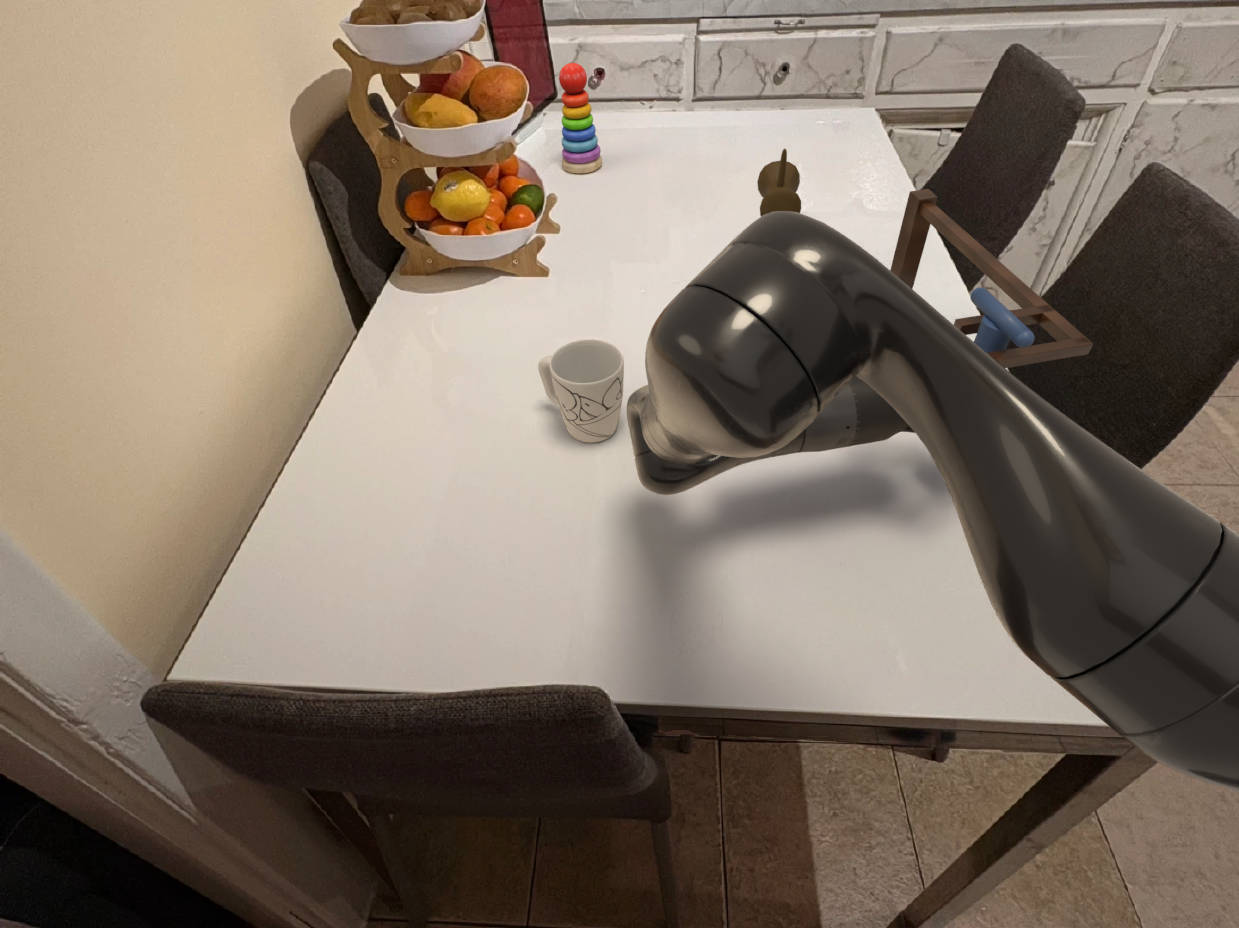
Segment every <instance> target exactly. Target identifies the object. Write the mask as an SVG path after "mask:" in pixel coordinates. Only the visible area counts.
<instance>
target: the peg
mask: <svg viewBox="0 0 1239 928" xmlns="http://www.w3.org/2000/svg"><path fill="white" fill-rule="evenodd" d="M970 300H971V302H972V304H973V305H975V306H976V308H978V310H979V311H980V312H981V313H982V314H983V315H985V316H984V317H983V319H982V321H981V324H980V327H979V329H978V332H977V333H976V334H975V337H974V338H975V339H974V340H973V342H974V343H976V344H977V345H978V346H979V347H980V348H982V349H983V350H984V351H985V352H986V353H990V352H996V351H1002V350H1007V347H1008V345H1009V343H1010V341H1011V342H1012V343H1013V344H1014V345H1015V346H1016V347H1017V348H1026V347H1029V346H1032V345H1033V344H1034V342H1035V335H1034V333H1033V331H1032V330H1031V329H1030V328H1029V327H1027V325H1024V324H1023V323H1022V322H1021V321H1020V320H1019V319H1018V318H1017V317H1016V316H1015V315H1013V314H1012V313H1011V312H1010V310H1009V308H1007V307H1006V305H1004V304H1003V303H1002V302H1001V301H1000V300H999V299H998V298H996V297H995V295H994V294H993V293H991V292H990V291H989V290H988V289H987V288H985V287H982V286H981V287H976V288H974V289H973V290H972V291H971V293H970Z"/></svg>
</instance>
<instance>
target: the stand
mask: <svg viewBox="0 0 1239 928" xmlns="http://www.w3.org/2000/svg"><path fill="white" fill-rule="evenodd" d="M938 199H939V197H938V196H937V195H936V194H935V193H934V192H933V191H931V190H930V189H929V188H925V189H917V190H911V191H909V194H908V197H907V201H906V205H905V210H904V213H903V218H902V221H901V226H900V230H899V233H898V238H897V242H896V246H895V249H894V253H893V258H892V263H891V266H890V269H889V270H890V271H891V272H893V273H894V274H895V275H896V276H897V277H899V278H900V279H901V280H902V281H903V282H905V283H906V284H907V285H908V286H909V287H910V288H911V289H913V288H914V285H915V281H916V278H917V275H918V270H919V268H920V264H921V259H922V256H923V253H924V250H925V249H924V248H925V245H926V241H927V238H928V235H929V231H930V227H933V228H934V229H936V231H938V232H939V233H940V234H941V235H942V236H943V237H944V238H945V239H946V240H947V241H948V242H950V243H951V245H953V246H954V247H955V248H956V249H957V250H958V251H959V252H960V253H961V254H962V255H963V256H965V257H966V258H967V259H968V260H969V261H970V262H971V263H972V264H973V265H974V266H976V267H977V269H979V270H980V271H981V272H982V273H983V274H984V275H985V276H986V277H987V278H988V279H990V280H991V282H993V284H994V285H996V286H997V287H998V288H999V289H1001V291H1003V293H1005V294H1006V296H1008V297H1009V298H1010V299H1011V300H1012V301H1013V302H1014V303H1016V305H1018V306H1019V307H1020V308H1016V309H1010V310H1009V311H1010V312H1011V313H1012V314H1013V315H1015V316H1016V317H1017V318H1018V319H1019V320H1020V321H1021V322H1022V323H1023V324H1024V325H1025V326H1030V325H1031V326H1032V325H1037V324H1038V325H1039V326H1040V327H1042V328H1043V329H1044V330H1045V331H1046V332H1047V333H1048V334H1049V335H1050V336H1051V337H1052V338H1053V339H1055V340H1056V341H1051V342H1044V343H1040V344H1034V345H1033V344H1032V345H1030V346H1029V347H1026V348H1020V347H1015V348H1009V349H1006V350H1002V351H996V352H990V353H988V354H989V355H990V356H991V357H992V358H994V359H995V360H996V361H997V362H998V363H1000V364H1001V365H1002V366H1003V367H1004V368H1006V369H1009V368H1015V367H1022V366H1027V365H1032V364H1038V363H1045V362H1050V361H1051V362H1052V361H1057V360H1062V359H1068V358H1074V357H1081V356H1086V355H1087V356H1088V355H1089V354H1090V352H1091V349H1092V347H1093V346H1094V343H1093V342H1092V341H1091V340H1090V339H1088V337H1086V336H1085V335H1084V334H1083V333H1082V332H1081V331H1080V330H1079V329H1077V328H1076V327H1075V326H1074V325H1073V324H1071V323H1070V321H1068V320H1067V319H1066V318H1065V317H1064V316H1063V315H1061V314H1060V313H1059V312H1057V310H1055V308H1053V307H1052V306H1051V305H1050V304H1049V303H1047V302H1046V301H1045V300H1044V299H1043V298H1042V297H1041V296H1040V295H1039V294H1038V293H1036V292H1035V291H1034V290H1033V289H1032V288H1030V287H1029V286H1028V285H1027V283H1025V282H1024V281H1023V280H1022V279H1021V278H1019V277H1018V276H1017V275H1016V274H1015V273H1013V271H1011V270H1010V269H1009V268H1008V267H1007V266H1006V265H1004V264H1003V263H1002V262H1001V261H1000V260H999V259H998V258H997V257H995V256H994V255H993V254H992V253H991V252H990V251H989V250H987V249H986V248H985V247H984V246H983V245H982V244H981V243H979V241H977V240H976V239H975V238H973V237H972V236H971V235H970V234H969V233H968V232H967V231H966V230H965V229H963V227H961V226H960V225H959V224H958V223H957V222H956V221H954V220H953V219H952V218H951V217H950V216H949V215H948V214H947V213H945V211H943V210H941V208H940V207H938V206H937V202H938ZM913 290H914V289H913ZM984 316H985V314H980V315H979V314H978V315H972V316H967V317H960V318H955V319H954V323H953V325H954V326H956V327H957V328H958V329H959V330H960V331H961V332H963V333H964V334H965V335H966V336H968V335H976V334H977V332H978V329H979V327H980V324H981V321H982V319H983V317H984Z"/></svg>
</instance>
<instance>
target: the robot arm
mask: <svg viewBox="0 0 1239 928" xmlns="http://www.w3.org/2000/svg"><path fill="white" fill-rule="evenodd" d="M647 337H648V338H647V341H646V346H645V354H644V355H645V356H644V366H645V374H646V380H647V384H645V385H643V386H640V387H639V388H637V389H636V390H635V391H633V392H632V393H631V394H630V396H629V397H628V398H627V402H626V419H627V424H628V425H627V426H628V429H629V435H630V440H631V446H632V451H633V457H634V462H635V463H634V464H635V467H636V468H635V469H636V474H637V478H638V480H639V483H640V484H641V486H643V487H644V488H645V490H648V491H649V492H651V493H654V494H657V495H662V496H672V495H673V496H674V495H677V494H682V493H684V492H687V491H688V490H691V489H694V488H695V487H697V486H699V485H701V484H703V483H705V482H708V481H709V480H711V479H712V478H715V477H717V476H718V475H720V474H724V473H725V472H727V471H730V470H732V469H734V468H737V467H739V466H742V465H746V464H748V463H752V462H753V463H754V462H755V461H761V460H764V459H765V460H766V459H770V458H774V457H782V456H788V455H793V454H799V453H800V454H801V453H818V452H819V453H820V452H826V451H832V450H837V449H843V448H849V447H853V446H854V447H855V446H860V445H866V444H871V443H876V442H877V443H878V442H882V441H886V440H889V439H890V438H892V437H893V436H895V435H897V434H898V433H901V432H903V433H904V432H905V433H912V434H916V435H917V437H918V438H919V439H920V441H921V442H922V444H923V445H924V446H925V448H926V449H927V451H928V453H929V455H930V456H931V458H932V460H933V461H934V463H935V465H936V467H937V469H938V471H939V473H940V475H941V477H942V479H943V482H944V483H945V486H946V489H947V491H948V494H949V497H950V498H951V500H952V503H953V505H954V508H955V511H956V514H957V517H958V519H959V522H960V525H961V528H962V531H963V534H964V537H965V539H966V542H967V545H968V548H969V551H970V554H971V556H972V560H973V562H974V565H975V567H976V570H977V573H978V575H979V578H980V580H981V583H982V586H983V587H984V591H985V592H986V595H987V598H988V600H989V602H990V604H991V606H992V608H993V610H994V611H995V615H996V616H997V618H998V621H999V622H1000V623H1001V625H1002V627H1003V629H1004V631H1005V632H1006V634H1007V635H1008V637H1009V638H1010V640H1011V641H1012V642H1013V644H1014V645H1015V646H1016V647H1017V648H1018V649H1019V650H1020V651H1021V652H1022V654H1023V655H1024V656H1026V657H1027V658H1028V659H1029V660H1030V661H1031V662H1032V663H1033V664H1034V665H1036V666H1037V667H1038V668H1039V669H1040V670H1041V671H1042V672H1044V674H1046V675H1047V676H1049V677H1050V678H1051V680H1053V681H1054V682H1055V683H1056V684H1058V685H1059V686H1060V687H1061V688H1062V689H1064V690H1065V691H1066V692H1067V693H1068V694H1070V695H1071V696H1072V697H1073V698H1074V699H1076V700H1077V701H1078V702H1079V703H1081V704H1082V705H1083V706H1084V707H1085V708H1087V709H1088V710H1089V711H1090V712H1092V714H1094V715H1095V716H1096V717H1097V718H1099V719H1100V720H1101V721H1102V722H1103V723H1104V724H1106V725H1107V726H1108V727H1110V728H1111V729H1112V730H1113V731H1114V732H1115V733H1117V734H1118V735H1119V736H1121V738H1123V739H1124V740H1126V741H1127V742H1128V743H1130V744H1131V745H1132V746H1134V747H1135V748H1136V749H1137V750H1139V751H1140V752H1142V754H1144V755H1146V756H1148V757H1149V758H1151V760H1154V761H1155V762H1157V763H1159V764H1161V765H1162V766H1165V767H1166V768H1168V769H1170V770H1172V771H1174V772H1176V773H1179V774H1181V775H1184V776H1187V777H1189V778H1192V779H1195V780H1197V781H1199V782H1203V783H1205V784H1208V785H1212V786H1215V787H1219V788H1223V789H1225V790H1229V791H1232V792H1236V793H1239V533H1237V532H1236V531H1234V530H1233V529H1231V528H1230V527H1229V526H1228V525H1226V524H1224V523H1223V522H1222V521H1220V520H1218V518H1216V517H1214V516H1213V515H1211V514H1210V513H1208V512H1207V511H1206V510H1204V509H1202V508H1201V507H1199V506H1198V505H1196V504H1195V503H1193V502H1191V501H1190V500H1188V499H1187V498H1185V497H1184V496H1182V495H1180V494H1179V493H1178V492H1177V491H1175V490H1173V489H1172V488H1170V487H1169V486H1167V485H1165V484H1164V483H1163V482H1161V481H1159V480H1158V479H1157V478H1155V477H1154V476H1153V475H1151V474H1149V473H1148V472H1146V471H1145V470H1144V469H1142V468H1140V467H1139V466H1138V465H1136V464H1135V463H1133V462H1132V461H1130V460H1129V459H1127V457H1125V456H1123V455H1122V454H1120V453H1119V452H1118V451H1116V450H1115V449H1113V448H1112V447H1111V446H1109V445H1108V444H1107V443H1105V442H1104V441H1102V440H1101V439H1100V438H1098V437H1097V436H1096V435H1094V434H1093V433H1092V432H1090V431H1088V430H1087V429H1086V428H1085V427H1083V426H1082V425H1080V424H1079V423H1078V422H1076V421H1075V420H1074V419H1072V418H1071V417H1070V416H1068V415H1067V414H1065V413H1064V412H1063V411H1062V410H1060V409H1059V408H1057V407H1056V406H1054V405H1053V404H1052V403H1050V402H1049V401H1048V400H1046V399H1045V398H1043V397H1042V396H1041V395H1040V394H1038V393H1037V392H1036V391H1035V390H1033V389H1032V388H1030V387H1029V386H1028V385H1027V384H1025V383H1024V382H1023V381H1022V380H1021V379H1019V378H1018V377H1017V376H1015V374H1013V373H1012V372H1010V371H1009V370H1008V368H1004V367H1003V366H1002V365H1001V364H1000V363H998V362H997V361H996V360H995V359H994V358H992V357H991V356H990V355H989V354H988V353H986V352H985V351H984V350H983V349H982V348H980V347H979V346H978V345H977V344H976V343H974V340H972V339H971V338H970V337H969V336H968V335H965V334H964V333H963V332H961V331H960V330H959V329H958V328H957V327H956V326H954V323H952V322H951V321H950V320H948V318H947V317H945V316H944V315H943V314H942V313H940V312H939V310H937V309H936V308H935V307H934V306H932V305H931V304H930V302H928V301H927V300H925V299H924V298H923V297H922V296H921V295H920V294H919V293H917V292H916V291H915V290H914V289H911V288H910V287H909V286H908V285H907V284H906V283H905V282H903V281H902V280H901V279H900V278H899V277H897V276H896V275H895V274H894V273H893V272H891V271H890V269H889V268H888V267H887V266H885V264H883V263H882V262H881V261H879V260H878V259H877V258H876V257H874V256H873V255H872V254H871V253H869V252H868V251H867V250H866V249H864V248H863V247H861V246H860V245H859V244H857V243H856V242H854V241H853V240H852V239H851V238H849V237H848V236H846V235H844V234H843V233H842V232H840V231H839V230H837V229H835V228H834V227H832V226H830V225H828V224H826V223H825V222H823V221H821V220H818V219H816V218H814V217H811V216H808V215H806V214H803V213H801V212H800V213H797V212H791V211H774V212H771V213H768V214H765V215H763V216H762V217H761V216H760V217H759V218H757V219H755V220H754V221H752V223H750V224H749V225H748V226H747V227H745V228H744V229H743V230H742V231H741V232H740V233H739V234H737V236H735V238H733V239H732V240H731V241H730V242H729V243H728V244H727V245H726V246H725V247H724V249H722V250H721V251H720V252H719V253H718V254H717V255H716V256H715V257H714V258H713V259H712V260H710V262H709V263H708V264H707V265H706V266H705V267H704V268H703V269H702V270H701V271H700V272H699V273H698V274H697V275H695V277H694V278H693V279H692V280H691V281H690V282H689V283H688V284H686V286H685V287H684V288H682V289H681V291H679V292H678V293H677V294H676V296H675V297H673V299H672V300H670V301H669V303H668V304H667V305H666V306H665V307H664V308H663V310H662V311H661V313H660V314H659V315H658V317H657V318H656V320H655V322H654V323H653V324H652V327H651V329H650V332H649V335H648V336H647Z"/></svg>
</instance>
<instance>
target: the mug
mask: <svg viewBox="0 0 1239 928" xmlns="http://www.w3.org/2000/svg"><path fill="white" fill-rule="evenodd" d="M624 361H625V360H624V356H623V354H622V352H621V351H620V349H619V348H618V347H616V346H615V345H613V344H612V343H610V342H608V341H604V340H600V339H580V340H575V341H572V342H568V343H566V344H565V345H562V346H561V347H559V348H558V349H557V350H556V351H555V352H553V354H552V355H546V356H544V357H543V358H541V359H540V360H539V362H538V364H537V367H538V368H537V369H538V373H539V376H540V379H541V382H542V384H543V388H544V392H545V394H546V396H547V398H548V399H549V401H550V402H551V403H553V404H554V405H556V406H558V407H559V411H560V414H561V416H562V419H563V422H564V424H565V428H566V429H567V431H568V434H570V435H571V437H572V438H574V439H575V440H577V441H580V442H583V443H590V444H591V443H592V444H593V443H599V442H603V441H606V440H607V439H609V438H611V437H612V436H613V435H614V434H615V433H616V431H617V429H618V426H619V421H620V416H621V408H622V404H623V397H624V377H625V373H624V372H625V362H624Z"/></svg>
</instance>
